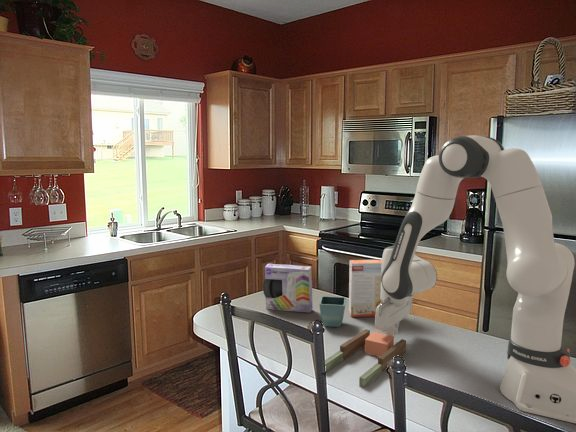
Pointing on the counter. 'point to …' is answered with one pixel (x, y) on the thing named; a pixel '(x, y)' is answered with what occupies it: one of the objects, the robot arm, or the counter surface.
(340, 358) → the parallel rails
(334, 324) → the flower pot
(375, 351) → the orange block
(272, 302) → the cake pan box
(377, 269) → the cracker box
